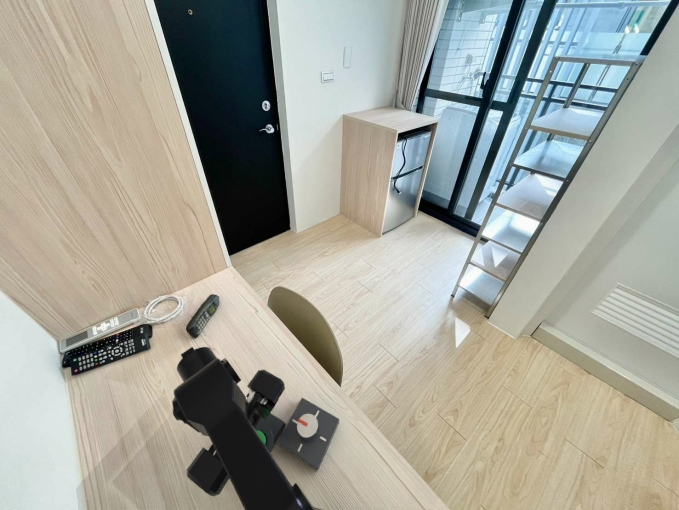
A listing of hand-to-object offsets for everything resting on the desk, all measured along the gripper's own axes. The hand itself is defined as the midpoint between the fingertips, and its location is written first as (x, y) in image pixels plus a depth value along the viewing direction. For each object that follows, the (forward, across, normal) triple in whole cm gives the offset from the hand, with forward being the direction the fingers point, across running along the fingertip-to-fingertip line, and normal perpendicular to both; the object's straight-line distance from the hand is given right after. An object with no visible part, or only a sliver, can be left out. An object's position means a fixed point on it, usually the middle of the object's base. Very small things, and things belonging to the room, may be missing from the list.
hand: (251, 435), depth 54 cm
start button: (+5, 0, 0) cm, 5 cm away
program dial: (+6, -7, +8) cm, 12 cm away
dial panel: (+9, -7, +8) cm, 14 cm away
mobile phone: (+9, -19, -36) cm, 42 cm away
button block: (+9, -1, -2) cm, 9 cm away
